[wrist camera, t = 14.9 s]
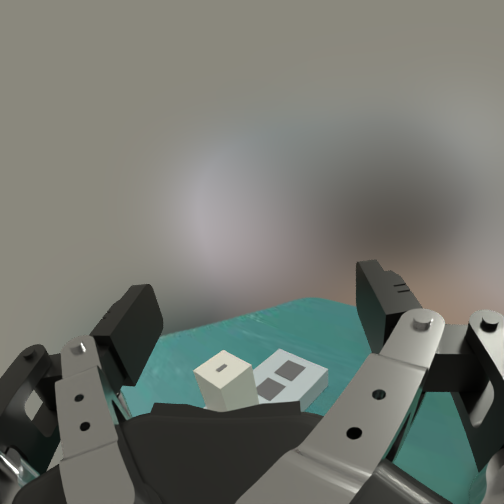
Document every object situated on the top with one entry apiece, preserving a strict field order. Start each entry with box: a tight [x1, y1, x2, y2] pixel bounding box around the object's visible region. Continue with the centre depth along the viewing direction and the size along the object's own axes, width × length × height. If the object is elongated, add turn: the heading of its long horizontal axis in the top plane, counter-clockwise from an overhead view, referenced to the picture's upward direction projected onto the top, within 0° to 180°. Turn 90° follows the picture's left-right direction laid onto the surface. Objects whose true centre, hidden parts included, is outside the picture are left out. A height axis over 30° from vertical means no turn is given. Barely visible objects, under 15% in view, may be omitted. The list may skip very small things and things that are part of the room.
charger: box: [193, 350, 260, 412], centre depth 34 cm, size 4×4×12 cm
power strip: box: [204, 349, 328, 412], centre depth 38 cm, size 20×9×4 cm, turn 136°
